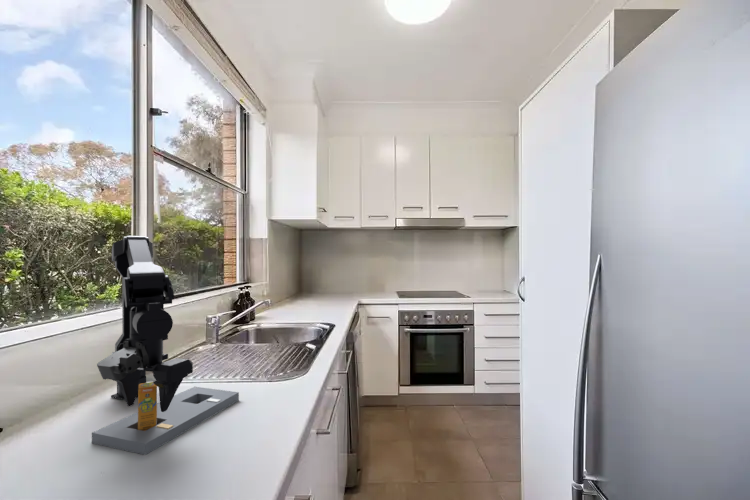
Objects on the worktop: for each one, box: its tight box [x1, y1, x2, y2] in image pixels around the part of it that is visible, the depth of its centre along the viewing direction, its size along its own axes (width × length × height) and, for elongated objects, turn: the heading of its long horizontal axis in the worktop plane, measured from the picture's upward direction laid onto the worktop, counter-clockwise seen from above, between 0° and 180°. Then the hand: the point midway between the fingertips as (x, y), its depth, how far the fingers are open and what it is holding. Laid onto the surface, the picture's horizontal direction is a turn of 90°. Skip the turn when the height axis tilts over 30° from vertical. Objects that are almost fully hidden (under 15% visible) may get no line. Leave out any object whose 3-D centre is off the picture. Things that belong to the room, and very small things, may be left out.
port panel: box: [91, 386, 240, 455], centre depth 78 cm, size 14×25×2 cm, turn 162°
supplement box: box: [137, 381, 158, 431], centre depth 72 cm, size 3×3×10 cm
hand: (147, 408), depth 72 cm, fingers open, 9 cm apart
